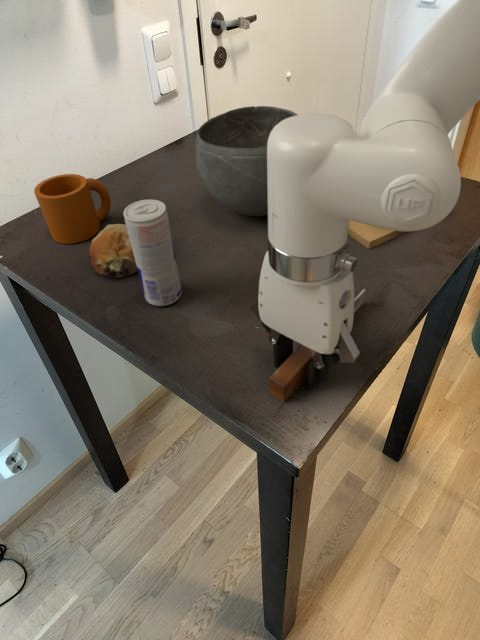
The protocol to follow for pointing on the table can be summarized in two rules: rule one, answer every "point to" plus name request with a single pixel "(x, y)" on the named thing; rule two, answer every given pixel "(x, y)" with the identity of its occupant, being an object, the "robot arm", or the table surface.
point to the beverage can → (153, 251)
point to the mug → (72, 207)
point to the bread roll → (113, 252)
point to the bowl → (238, 157)
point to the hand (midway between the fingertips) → (299, 369)
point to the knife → (297, 366)
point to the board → (370, 234)
